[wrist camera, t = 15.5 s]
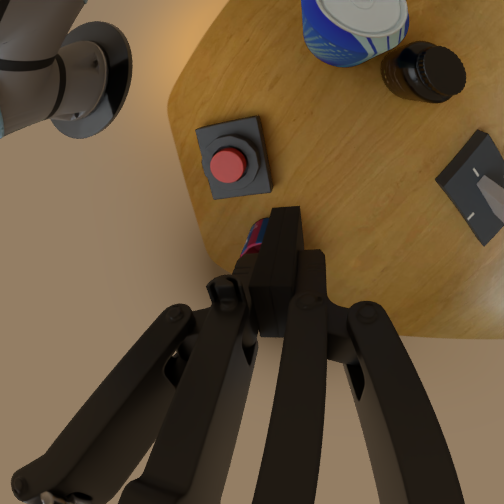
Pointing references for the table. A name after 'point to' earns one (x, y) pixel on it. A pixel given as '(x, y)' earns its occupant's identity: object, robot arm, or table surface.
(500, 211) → the tap knob
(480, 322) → the table surface
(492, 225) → the panel
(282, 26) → the table surface
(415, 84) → the supplement bottle
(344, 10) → the beer can
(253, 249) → the mug
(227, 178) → the button
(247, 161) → the button box
